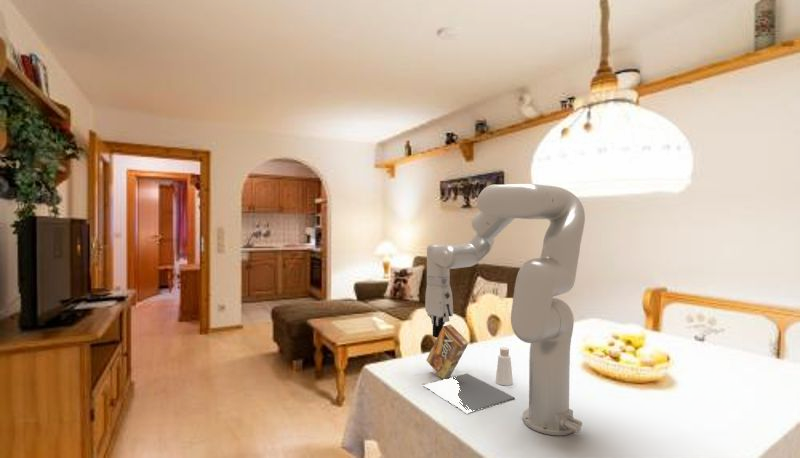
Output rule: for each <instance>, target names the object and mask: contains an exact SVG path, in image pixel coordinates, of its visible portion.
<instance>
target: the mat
mask: <svg viewBox="0 0 800 458" xmlns="http://www.w3.org/2000/svg"><path fill="white" fill-rule="evenodd" d="M456 376H457V377H456ZM452 377H453V379H455V378H456V379H455V380H457V381H458V382H459V383H457V384H459V386H460V387H459V388H460V390H461V391H460V390H459V393H458V396H459V398H460V399H461V400H462V401H461V400H460V401H461V402H462V403H463V405H462V404H461V403H460V402H459V403H460V404H461V405H462V406H463V407H464V408H465V407H466V408H467V409H468V407H469V409H471V410H472V411H473V410H478V409H481V408H485V407H488V408H490V407H489V406H491V407H493V406H492V405H494V406H496V405H495V404H497V405H499V403H500V404H502V402H503V403H506V401H507V402H510V401H512V400H515V399H516V397H515V396H512V395H511V394H509V393H506V392H504V390H501V389H499V388H497V387H495V386H493V385H490V384H489V383H487V382H485V381H483V380H481V379H479V378H477V377H475V376H473V375H472V374H470V373H468V372H467V373H464V374H463V373H462V374H459V375H454V376H452ZM454 377H455V378H454ZM509 400H510V401H509ZM466 405H467V406H468V407H467V406H466ZM466 408H465V409H466ZM467 409H466V410H467ZM469 409H468V410H469ZM485 409H486V408H485ZM481 410H482V409H481ZM478 411H479V410H478Z"/></svg>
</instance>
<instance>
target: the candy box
mask: <svg viewBox="0 0 800 458" xmlns="http://www.w3.org/2000/svg"><path fill="white" fill-rule="evenodd" d="M468 345H469V341H468V340H467V339H466V338H465V337H464V336H463V335H462V334H461V333H460V332H459V331H458V330H457V329H456V328H455V327H454V326H453V324H447V325H443V327H442V329H441V331H440V333H439V335H438V337H437V338H436V340H435V341H434V344H433V346H432V348H431V349H430V352H429V354H428V355H427V358H426V360H425V361H426V363H428V364H429V365H430V367H431V368H432V369H433V370H434V371H435V372H436V374H437V375H438V376H439V377H440V378H441V379H442V378H443V379H444V378H445V379H446V378H447V377H448V378H450V377H452V374H453V372H454V371H455V369H456V367H457V365H458V363H459V362H460V360H461V358H462V356H463V354H464V353H465V350H467V347H468ZM449 376H450V377H449Z"/></svg>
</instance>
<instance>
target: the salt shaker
mask: <svg viewBox="0 0 800 458" xmlns="http://www.w3.org/2000/svg"><path fill="white" fill-rule="evenodd" d="M499 353H500V354H499V355H498V357H497V365H496V366H497V367H496V375H495V382H496V384H497V383H498V385H500V384H501V385H500V386H502V385H506V386H507V385H508V386H509V387H510V386H512V385H514V382H513V368H512V360H511V356H510V355H509V353H510V348H508V347H507V346H501V347H500V348H499ZM511 384H512V385H511ZM506 386H505V387H506Z"/></svg>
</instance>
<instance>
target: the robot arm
mask: <svg viewBox="0 0 800 458" xmlns="http://www.w3.org/2000/svg"><path fill="white" fill-rule="evenodd" d="M477 197H478V198H477V207H478V209H479V211H478V212H476V214H475V215H474V216H473V218H471V227H472V230H473V231H474V232H475V233H476V234H475V235H474V236H473V237H472V238H471V240H469V241H468V242H467V243H459V244H458V243H457V244H456V243H455V244H445V243H444V244H443V243H431V244H429V245H427V247H426V289H425V295H424V296H425V297H424V299H425V300H424V301H425V302H424V309H425V310H424V311H425V312H426V313H427V317H429V318H430V320H431V324H432V337H434V338H436V339H437V337H438V335H439V333H440V331H441V329H442V327H443V326H445V324H446V323H449V322H450V317H453V315H454V303H453V291H452V288H451V285H450V282H451V281H450V279H451V278H450V276H451V275H450V271H451V270H452V269H453V270H454V269H461V268H468V267H469V268H471V267H473V266H476V265H477V264H478V263H479V262H480V261H482V260H484V258H485V257H486V256H487V255H488V254H489V253H490V252H491V250H492V248H493V245H494V243H495V238H496V237H497V236H498V235H499V234H500V233H501V232H502V231H504V229H505V228H507V227H508V226H509V224H510V223H512V222H514V220H515V219H522V220H548V221H550V223H549V225H548V228H547V230H546V232H545V234H544V237H543V240H542V241H543V242H542V248H541V249H542V250H541V253H540V257H536V258H532V259H529V260H528V261H526V262H524V263H523V265H521V267H520V268H519V270H518V272H517V275H516V277H515V278H516V279H515V283H514V289H513V290H514V291H513V298H512V302H511V303H512V304H511V312H510V325H511V328H512V330H513V333H514V334H515V336H516V337H517V339H519V340H520V341H522V342H523V343H527V344H530V345H529V346H530V347H529V359H528V362H529V364H528V365H529V366H528V367H529V369H528V371H529V372H528V373H529V375H528V376H529V377H528V379H529V380H528V392H529V393H528V408H526V409H525V410H524V411H523V412H522V421H523V423H524V424H525V425H526V426H527V427H529V428H530V429H532V430H534V431H535V432H538V433H541V434H545V435H550V436H566V435H570V434H572V433H575V434H577V435H578V434H580V432H581V431H582V426H583V422H582V421H581V420H579V419H577V418H575V417H574V410H572V409H571V408H570V365H571V362H570V361H571V343H572V336H573V331H574V324H575V323H574V320H575V317H574V313H573V311H572V309H571V307H570V306H569V304H567V302H565V301H564V300H562V299H560V298H557V297H556V296H560V295H564V294H567V293H569V292H570V291H571V290H572V289H573V287H574V285H575V283H576V275H577V272H578V271H577V270H578V264H579V257H580V253H581V251H580V249H581V243H582V240H583V239H582V237H583V234H584V227H585V222H586V215H585V208H584V206H583V204H582V201H580V199H579V198H578V197H577V196H576V195H575V194H574V193H573V192H571V191H569V189H565V188H562V187H560V186H556V185H555V186H552V185H548V184H547V185H546V184H545V185H544V184H539V183H538V184H536V183H515V184H514V183H513V184H510V183H509V184H490V185H487V186H485V187H484V188H483V189H482V190H481V192H480V193H479V195H478V196H477Z"/></svg>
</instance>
